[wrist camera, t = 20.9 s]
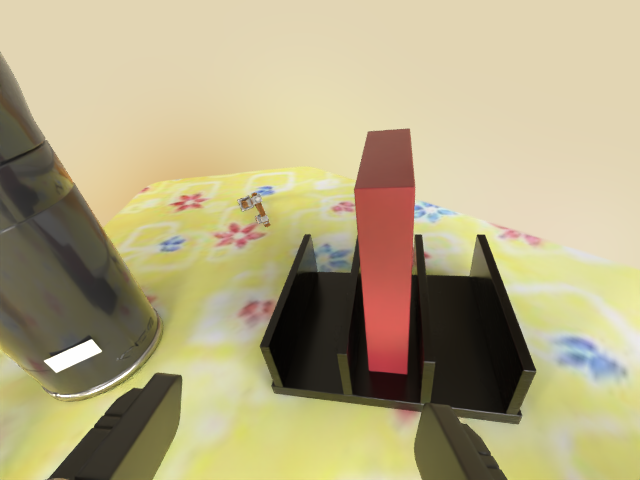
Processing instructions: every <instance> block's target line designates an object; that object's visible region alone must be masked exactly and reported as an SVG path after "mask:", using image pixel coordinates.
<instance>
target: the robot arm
mask: <svg viewBox="0 0 640 480" xmlns="http://www.w3.org/2000/svg"><path fill="white" fill-rule="evenodd" d="M162 332H163V323H162V320H161V317H160V316H159V314H158V313H157V311H156V310H155V309H154V308H153V307H152V306H151V304H150V302H149V301H148V299H147V298H146V296H145V294H144V293H143V291H142V290H141V288H140V286H139V285H138V283H137V281H136V280H135V278H134V277H133V275H132V273H131V272H130V270H129V269H128V267H127V266H126V264H125V262H124V261H123V259H122V258H121V256H120V254H119V253H118V251H117V250H116V248H115V247H114V245H113V243H112V242H111V240H110V239H109V237H108V235H107V234H106V232H105V231H104V229H103V228H102V226H101V224H100V223H99V221H98V220H97V218H96V217H95V215H94V214H93V212H92V210H91V209H90V207H89V205H88V204H87V202H86V201H85V199H84V198H83V196H82V194H81V193H80V191H79V190H78V188H77V186H76V185H75V183H74V182H73V181H72V179H71V177H70V176H69V174H68V173H67V171H66V170H65V168H64V166H63V165H62V163H61V162H60V160H59V158H58V157H57V155H56V154H55V152H54V151H53V149H52V147H51V146H50V144H49V143H48V141H47V140H45V137H44V135H43V134H42V132H41V130H40V129H39V127H38V126H37V124H36V122H35V121H34V119H33V117H32V115H31V113H30V110H29V108H28V106H27V103H26V101H25V98H24V96H23V93H22V91H21V89H20V86H19V84H18V82H17V80H16V78H15V76H14V74H13V73H12V71H11V69H10V68H9V66H8V64H7V62H6V61H5V59H4V57H3V56H2V54H1V52H0V349H1V350H2V351H3V352H4V353H5V354H6V355H8V356H9V357H10V358H11V359H12V360H13V361H14V362H16V363H17V364H18V365H19V366H20V367H21V368H22V369H23V370H24V371H26V372H27V373H28V374H29V375H30V376H31V377H33V378H34V379H35V380H36V381H37V382H38V383H39V384H41V385H42V387H43V389H44V390H45V391H46V392H47V393H48V394H50V395H51V396H52V397H54V398H55V399H58V400H61V401H80V400H85V399H88V398H92V397H94V396H97V395H100V394H102V393H104V392H106V391H108V390H110V389H112V388H114V387H115V386H117V385H119V384H120V383H122V382H123V381H125V380H126V379H127V378H129V377H130V376H131V375H133V374H134V373H135V372H136V371H137V370H138V369H139V368H140V367H141V366H142V365H143V364H144V363H145V362H146V361H147V360H148V359H149V358H150V356H151V355H152V354H153V352H154V351H155V349H156V347H157V346H158V344H159V341H160V339H161V336H162ZM181 393H182V376H181V375H175V374H166V373H156V374H154V376H153V377H152V378H151V379H150V381H149V382H148V383H147V384H146V386H145V387H144V388H143V389H139V388H133V389H132V390H130V391H129V392H127V393H126V394H124V395H122V396H121V397H119V398H118V399H117V400H116V401H115V402H114V403H113V404H112V405H111V407H110V408H109V409H108V410H107V411H106V412H105V415H104V416H102V417H101V418H100V419H99V420H98V422H97V423H96V424H95V426H94V428H92V429H91V430H90V431H89V432H88V433H87V434H86V436H85V437H84V438H83V439H82V440H81V441H80V443H79V444H78V445H77V446H76V447H75V448H74V450H73V451H72V452H71V453H70V454H69V455H68V456H67V458H66V459H65V460H64V461H63V462H62V463H61V465H60V466H59V467H58V468H57V469H56V470H55V472H54V473H53V474H52V475H51V476H50V477H49V478H48V479H47V480H152V479H153V477H154V476H155V474H156V472H157V470H158V468H159V466H160V464H161V462H162V460H163V458H164V456H165V454H166V452H167V451H168V449H169V447H170V445H171V443H172V441H173V439H174V437H175V434H176V432H177V428H178V425H179V420H180V410H181ZM414 453H415V460H416V464H417V467H418V469H419V472H420V475H421V478H422V480H507V478H506V477H505V475H504V473H503V472H502V470H500V469H499V466H498V464H497V462H496V461H495V459H494V458H493V456H491V453H490V451H489V450H488V448H487V447H486V445H485V443H484V442H483V440H482V439H481V437H480V436H478V435H477V434H476V433H475V432H474V431H473V430H472V429H471V428H470V427H469V426H468V425H467V424H462V423H460V421H459V419H458V418H457V416H456V414H455V413H454V411H453V409H452V408H451V407H450V406H449V405H444V404H435V403H425V404H424V406H423V409H422V413H421V417H420V421H419V425H418V430H417V434H416V438H415V444H414Z"/></svg>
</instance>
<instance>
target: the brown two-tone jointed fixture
mask: <svg viewBox="0 0 640 480" xmlns="http://www.w3.org/2000/svg"><path fill="white" fill-rule="evenodd" d="M237 201H238V203H239V205H240V208H241V210H242V212H243V211H245V210H248V209H250V208H253V207H254V206H253V205H255V206H256V208H257V209H258V211H259V213H260V215H258V216H255V218H256V221H257V223H259V224H260V223H262V222H263V223H264V225H265V227H268V226H270V223H269V221H268V220H269V219H268V217H267V215H266V214H265V211H264V209H263V207H262V204H261V202H262V199H261V196H260V194H259V195H257V193H252V198H250V197H249V196H246V197H244V198H241V199H238V200H237Z"/></svg>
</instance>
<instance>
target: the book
mask: <svg viewBox="0 0 640 480" xmlns="http://www.w3.org/2000/svg"><path fill="white" fill-rule="evenodd" d="M354 193H355V206H356V218H357V231H358V243H359V256H360V268H361V281H362V293H363V306H364V318H365V331H366V343H367V356H368V368H369V371H378V372H388V373H398V374H407V372H408V348H409V324H410V301H411V277H412V253H413V229H414V206H415V179H414V168H413V157H412V148H411V136H410V129H397V130H384V131H370V132H368V134H367V138H366V142H365V146H364V150H363V155H362V159H361V163H360V167H359V172H358V176H357V180H356V184H355V188H354Z"/></svg>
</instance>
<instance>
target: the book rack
mask: <svg viewBox="0 0 640 480" xmlns="http://www.w3.org/2000/svg"><path fill="white" fill-rule="evenodd" d="M260 348H261V351H262V354H263V356H264V359H265V361H266V364H267V366H268V369H269V371H270V374H271V376H272V379H273V383H272V389H273V391H274V393H276V394H283V395H291V396H299V397H307V398H315V399H323V400H331V401H339V402H347V403H355V404H362V405H370V406H378V407H386V408H394V409H402V410H410V411H418V412H422V409H423V406H424V404H425V403H435V404H444V405H449V406H450V407H451V408H452V409H453V411H454V413H455V414H456V416H457V417H465V418H473V419H481V420H489V421H497V422H505V423H513V424H519V422H520V420H521V418H522V414H521V410H520V407H521V405H522V403H523V400H524V398H525V396H526V394H527V391H528V389H529V387H530V385H531V383H532V380H533V378H534V376H535V374H536V369H535V366H534V364H533V361H532V358H531V356H530V353H529V350H528V348H527V345H526V342H525V340H524V337H523V334H522V332H521V329H520V327H519V324H518V321H517V319H516V316H515V313H514V311H513V308H512V305H511V303H510V300H509V297H508V295H507V292H506V289H505V287H504V284H503V281H502V279H501V276H500V273H499V271H498V268H497V265H496V263H495V260H494V258H493V255H492V252H491V250H490V247H489V244H488V242H487V239H486V236H485V235H477V238H476V243H475V249H474V254H473V259H472V265H471V270H470V276H440V275H426V268H425V258H424V249H423V239H422V235H415V238H414V260H413V275H412V277H411V301H410V324H409V348H408V372H407V374H398V373H388V372H378V371H369V368H368V356H367V343H366V331H365V318H364V306H363V293H362V281H361V268H360V256H359V243H358V235H357V240H356V246H355V252H354V257H353V263H352V269H351V273H339V272H318V271H317V265H316V260H315V254H314V249H313V243H312V238H311V234H305V235H304V238H303V240H302V243H301V245H300V248H299V250H298V253H297V255H296V258H295V260H294V263H293V265H292V267H291V270H290V272H289V275H288V277H287V280H286V282H285V285H284V287H283V290H282V292H281V295H280V297H279V300H278V302H277V305H276V307H275V310H274V312H273V315H272V317H271V320H270V322H269V325H268V327H267V330H266V332H265V335H264V337H263V340H262V342H261V345H260Z"/></svg>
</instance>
